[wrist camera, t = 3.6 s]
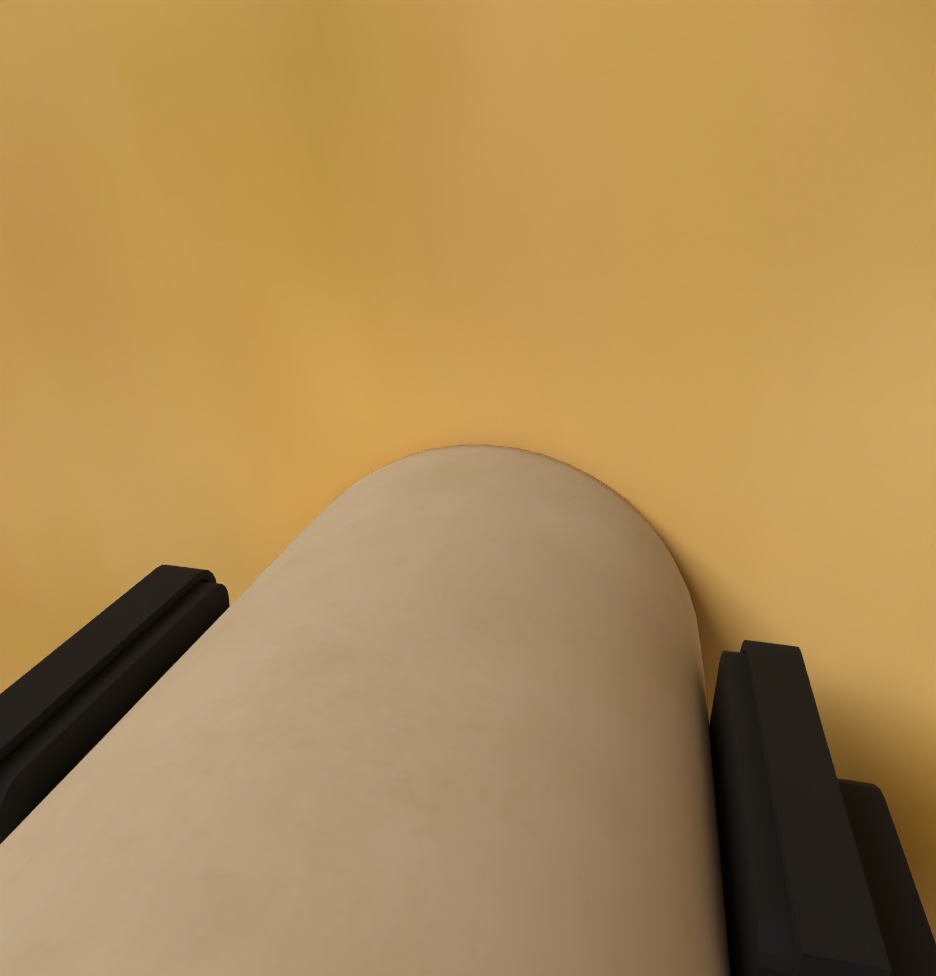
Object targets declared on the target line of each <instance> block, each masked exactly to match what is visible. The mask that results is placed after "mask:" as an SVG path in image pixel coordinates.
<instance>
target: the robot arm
mask: <svg viewBox="0 0 936 976" xmlns="http://www.w3.org/2000/svg"><path fill="white" fill-rule="evenodd" d="M228 608H229V596H228V591H227V589H226V587H225V586H224V585H223V584H218V583H216V579H215V577H214V575H213V573H211V572H210V571H209V570H202V569H195V568H187V567H179V566H172V565H161V566H159V567H158V568H156V569H155V570H154V571H152V572H151V573H150V574H149V575H147V576H146V577H145V578H144V579H142V580H141V581H140V582H139V583H137V584H136V585H135V586H134V587H132V588H131V589H130V590H129V591H127V592H126V593H125V594H124V595H123V596H121V597H120V598H119V599H118V600H116V601H115V602H114V603H113V604H111V605H110V606H109V607H108V608H106V609H105V610H104V611H103V612H101V613H100V614H99V615H98V616H97V617H95V618H94V619H93V620H92V621H90V622H89V623H88V624H87V625H85V626H84V627H83V628H82V629H80V630H79V631H78V632H77V633H75V634H74V635H73V636H72V637H71V638H69V639H68V640H67V641H66V642H64V643H63V644H62V645H61V646H59V647H58V648H57V649H56V650H54V651H53V652H52V653H51V654H49V655H48V656H47V657H46V658H44V659H43V660H42V661H41V662H40V663H38V664H37V665H36V666H35V667H33V668H32V669H31V670H30V671H28V672H27V673H26V674H25V675H23V676H22V677H21V678H20V679H18V680H17V681H16V682H15V683H14V684H12V685H11V686H10V687H9V688H7V689H6V690H5V691H4V692H2V693H1V694H0V844H1V843H2V842H3V841H4V840H5V839H6V838H7V837H8V836H9V835H10V834H11V833H12V832H13V831H14V830H15V829H16V828H17V827H18V826H19V825H20V824H21V823H22V821H23V820H24V819H25V818H26V817H27V816H28V815H29V814H30V813H31V812H32V811H33V810H34V809H35V808H36V807H37V806H38V805H39V804H40V803H41V802H42V801H43V800H44V799H45V798H46V797H47V796H48V795H49V794H50V792H51V791H52V790H53V789H54V788H55V787H56V786H57V785H58V784H59V783H60V782H61V781H62V780H63V779H64V778H65V777H66V776H67V775H68V774H69V773H70V772H71V771H72V770H73V769H74V768H75V767H76V766H77V765H78V763H79V762H80V761H81V760H82V759H83V758H84V757H85V756H86V755H87V754H88V753H89V752H90V751H91V750H92V749H93V748H94V747H95V746H96V745H97V744H98V743H99V742H100V741H101V740H102V739H103V738H104V737H105V735H106V734H107V733H108V732H109V731H110V730H111V729H112V728H113V727H114V726H115V725H116V724H117V723H118V722H119V721H120V720H121V719H122V718H123V717H124V716H125V715H126V714H127V713H128V712H129V711H130V710H131V709H132V708H133V706H134V705H135V704H136V703H137V702H138V701H139V700H140V699H141V698H142V697H143V696H144V695H145V694H146V693H147V692H148V691H149V690H150V689H151V688H152V687H153V686H154V685H155V684H156V683H157V682H158V681H159V680H160V678H161V677H162V676H163V675H164V674H165V673H166V672H167V671H168V670H169V669H170V668H171V667H172V666H173V665H174V664H175V663H176V662H177V661H178V660H179V659H180V658H181V657H182V656H183V655H184V654H185V653H186V652H187V651H188V649H189V648H190V647H191V646H192V645H193V644H194V643H195V642H196V641H197V640H198V639H199V638H200V637H201V636H202V635H203V634H204V633H205V632H206V631H207V630H208V629H209V628H210V627H211V626H212V625H213V624H214V623H215V622H216V620H217V619H218V618H219V617H220V616H221V615H222V614H223V613H224V612H225V611H226V610H227V609H228ZM709 732H710V743H711V754H712V766H713V777H714V788H715V799H716V811H717V822H718V833H719V845H720V856H721V867H722V879H723V890H724V901H725V913H726V924H727V935H728V946H729V958H730V969H731V976H936V944H935V941H934V938H933V935H932V932H931V929H930V926H929V924H928V921H927V918H926V915H925V912H924V909H923V906H922V904H921V901H920V898H919V895H918V892H917V889H916V886H915V884H914V881H913V878H912V875H911V872H910V869H909V866H908V864H907V861H906V858H905V855H904V852H903V849H902V846H901V844H900V841H899V838H898V835H897V832H896V829H895V826H894V824H893V821H892V818H891V815H890V812H889V809H888V806H887V804H886V801H885V798H884V796H883V794H882V792H881V790H880V789H879V788H878V787H877V786H875V785H874V784H869V783H863V782H856V781H850V780H843V779H837V777H836V773H835V770H834V766H833V763H832V759H831V756H830V752H829V749H828V745H827V742H826V738H825V734H824V731H823V727H822V724H821V720H820V717H819V713H818V710H817V706H816V703H815V699H814V696H813V692H812V689H811V685H810V682H809V678H808V675H807V671H806V668H805V664H804V660H803V657H802V653H801V651H800V649H799V647H795V646H788V645H780V644H772V643H765V642H757V641H749V640H744V642H743V643H742V647H741V650H740V653H738V652H731V651H723V652H722V655H721V658H720V664H719V670H718V676H717V682H716V688H715V695H714V701H713V707H712V714H711V720H710V726H709Z"/></svg>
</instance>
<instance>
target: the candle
mask: <svg viewBox="0 0 936 976" xmlns="http://www.w3.org/2000/svg"><path fill="white" fill-rule="evenodd" d="M0 976H731V969H730V958H729V946H728V935H727V924H726V913H725V901H724V890H723V879H722V867H721V856H720V845H719V833H718V822H717V811H716V799H715V788H714V777H713V766H712V754H711V743H710V732H709V720H708V709H707V698H706V686H705V676H704V668H703V660H702V653H701V645H700V638H699V631H698V624H697V617H696V614H695V610H694V607H693V604H692V600H691V597H690V594H689V591H688V588H687V586H686V584H685V582H684V580H683V578H682V576H681V574H680V571H679V569H678V567H677V565H676V563H675V561H674V559H673V557H672V555H671V553H670V552H669V550H668V549H667V547H666V546H665V544H664V543H663V541H662V540H661V538H660V537H659V535H658V534H657V532H656V531H655V530H654V529H653V528H652V527H651V525H650V524H649V523H648V522H647V521H646V520H645V518H644V517H643V516H642V515H641V514H640V513H639V512H638V511H637V510H636V509H635V508H634V507H633V506H631V505H630V504H629V503H628V502H627V501H626V500H625V499H624V498H622V497H621V496H620V495H619V494H618V493H616V492H615V491H613V490H612V489H611V488H609V487H608V486H606V485H605V484H603V483H602V482H600V481H599V480H598V479H596V478H594V477H593V476H591V475H589V474H587V473H585V472H583V471H581V470H579V469H577V468H575V467H573V466H571V465H569V464H567V463H564V462H561V461H559V460H556V459H553V458H551V457H548V456H545V455H543V454H539V453H534V452H530V451H526V450H522V449H517V448H512V447H503V446H493V445H457V446H450V447H443V448H437V449H431V450H427V451H424V452H421V453H417V454H414V455H410V456H407V457H404V458H402V459H400V460H398V461H396V462H393V463H391V464H389V465H387V466H384V467H382V468H380V469H378V470H376V471H374V472H372V473H371V474H369V475H368V476H366V477H364V478H363V479H361V480H360V481H358V482H356V483H355V484H353V485H352V486H351V487H349V488H348V489H347V490H346V491H345V492H344V493H343V494H341V495H340V496H339V497H338V498H337V499H336V500H334V501H333V502H332V503H331V504H330V505H329V506H328V507H327V508H326V509H325V510H324V511H323V512H322V513H321V514H320V515H319V516H318V517H316V518H315V519H314V520H313V521H312V522H311V523H310V524H309V525H308V526H307V527H306V528H305V529H304V530H303V531H302V532H301V533H300V534H299V536H298V537H297V538H296V539H295V540H294V541H293V542H292V543H291V544H290V545H289V546H288V547H287V548H286V549H285V550H284V551H283V552H282V553H281V554H280V555H279V556H278V557H277V558H276V559H275V560H274V561H273V562H272V563H271V565H270V566H269V567H268V568H267V569H266V570H265V571H264V572H263V573H262V574H261V575H260V576H259V577H258V578H257V579H256V580H255V581H254V582H253V583H252V584H251V585H250V586H249V587H248V588H247V589H246V590H245V591H244V592H243V594H242V595H241V596H240V597H239V598H238V599H237V600H236V601H235V602H234V603H233V604H232V605H231V606H230V607H229V608H228V609H227V610H226V611H225V612H224V613H223V614H222V615H221V616H220V617H219V618H218V619H217V620H216V622H215V623H214V624H213V625H212V626H211V627H210V628H209V629H208V630H207V631H206V632H205V633H204V634H203V635H202V636H201V637H200V638H199V639H198V640H197V641H196V642H195V643H194V644H193V645H192V646H191V647H190V648H189V649H188V651H187V652H186V653H185V654H184V655H183V656H182V657H181V658H180V659H179V660H178V661H177V662H176V663H175V664H174V665H173V666H172V667H171V668H170V669H169V670H168V671H167V672H166V673H165V674H164V675H163V676H162V677H161V678H160V680H159V681H158V682H157V683H156V684H155V685H154V686H153V687H152V688H151V689H150V690H149V691H148V692H147V693H146V694H145V695H144V696H143V697H142V698H141V699H140V700H139V701H138V702H137V703H136V704H135V705H134V706H133V708H132V709H131V710H130V711H129V712H128V713H127V714H126V715H125V716H124V717H123V718H122V719H121V720H120V721H119V722H118V723H117V724H116V725H115V726H114V727H113V728H112V729H111V730H110V731H109V732H108V733H107V734H106V735H105V737H104V738H103V739H102V740H101V741H100V742H99V743H98V744H97V745H96V746H95V747H94V748H93V749H92V750H91V751H90V752H89V753H88V754H87V755H86V756H85V757H84V758H83V759H82V760H81V761H80V762H79V763H78V765H77V766H76V767H75V768H74V769H73V770H72V771H71V772H70V773H69V774H68V775H67V776H66V777H65V778H64V779H63V780H62V781H61V782H60V783H59V784H58V785H57V786H56V787H55V788H54V789H53V790H52V791H51V792H50V794H49V795H48V796H47V797H46V798H45V799H44V800H43V801H42V802H41V803H40V804H39V805H38V806H37V807H36V808H35V809H34V810H33V811H32V812H31V813H30V814H29V815H28V816H27V817H26V818H25V819H24V820H23V821H22V823H21V824H20V825H19V826H18V827H17V828H16V829H15V830H14V831H13V832H12V833H11V834H10V835H9V836H8V837H7V838H6V839H5V840H4V841H3V842H2V843H1V844H0Z"/></svg>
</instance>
